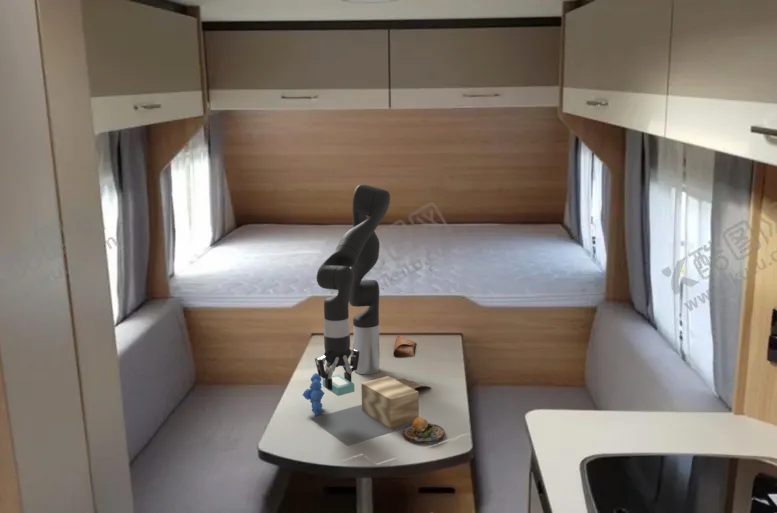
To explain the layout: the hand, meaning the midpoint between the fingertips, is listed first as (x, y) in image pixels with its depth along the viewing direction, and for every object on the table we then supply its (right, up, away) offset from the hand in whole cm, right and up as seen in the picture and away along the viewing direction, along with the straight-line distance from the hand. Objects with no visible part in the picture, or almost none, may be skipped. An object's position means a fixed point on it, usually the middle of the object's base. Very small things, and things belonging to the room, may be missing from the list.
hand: (338, 387), depth 204 cm
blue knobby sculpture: (-8, -10, +11) cm, 17 cm away
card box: (0, -1, 0) cm, 1 cm away
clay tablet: (+21, -7, +27) cm, 35 cm away
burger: (+25, -13, -7) cm, 29 cm away
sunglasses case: (+21, +1, +69) cm, 72 cm away
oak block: (+15, -10, +7) cm, 19 cm away
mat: (+8, -11, +3) cm, 14 cm away
